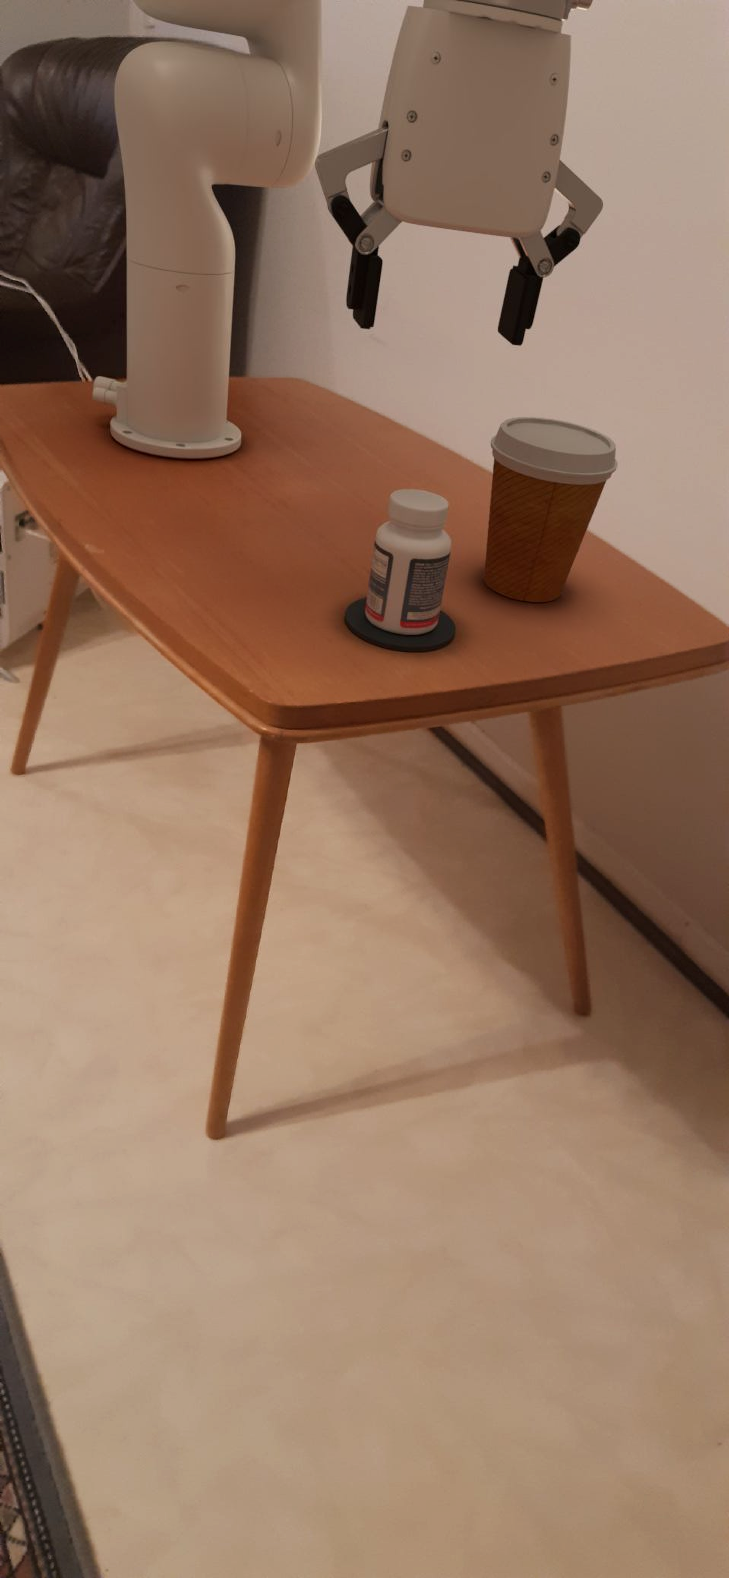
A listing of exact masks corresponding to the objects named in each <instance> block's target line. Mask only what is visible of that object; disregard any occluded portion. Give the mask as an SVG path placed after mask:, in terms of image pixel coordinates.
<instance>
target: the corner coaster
mask: <svg viewBox="0 0 729 1578" xmlns="http://www.w3.org/2000/svg"><path fill="white" fill-rule="evenodd" d="M366 600H367V597H362V598H359V599H357V600H355V601H353V602H351V603H350V604H349V605H347V607H346V609H345V612H344V623H345V625H346V627H347V628H348V630H349V631H350V632H351V633H353V634H354V635H355V636H357V638H360V639H361V640H363V641H365V642H367V643H370V644H372V645H374V646H377V647H381V648H384V649H388V650H393V651H400V652H408V653H409V652H411V653H415V652H416V653H420V652H422V653H423V652H431V651H436V650H439V649H442V648H444V647H446V646H448V645H449V644H450V643H452V641H453V640H454V638H455V636H456V632H457V631H456V629H457V628H456V623H455V622H454V620H453V618H451V617H450V615H448V614H447V613H446V612H445V611H443V610H442V609H440V614H439V618H438V623H437V625H436V627H435V628H434V629H432V630H431V631H429V632H427V633H423V634H418V635H403V634H397V633H392V632H388V631H385V630H383V629H380V628H378V627H376V626H375V625H373V624H372V623H371V622H370V621H369V620H368V619H367V617H366V614H365V608H366Z"/></svg>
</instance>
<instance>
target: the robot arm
mask: <svg viewBox="0 0 729 1578" xmlns="http://www.w3.org/2000/svg"><path fill="white" fill-rule="evenodd" d="M132 1H133V2H134V4H135V5H136V7H137V8H138V9H139V10H140V11H141V12H142V13H144V14H145V15H147V16H149V17H151V18H152V19H155V20H156V21H157V20H158V21H160V22H164V23H167V24H171V25H175V26H179V27H183V28H190V29H196V30H199V31H200V30H201V31H206V32H213V33H218V34H225V35H229V36H230V35H231V36H237V37H242V38H244V39H245V40H246V42H247V46H248V50H249V53H246V52H245V53H244V52H238V51H232V50H228V49H225V48H220V47H214V46H207V45H200V44H194V43H189V42H182V41H181V42H180V41H168V40H167V41H166V40H163V41H151V42H148V43H144V44H141V45H139V46H137V47H136V48H133V49H132V50H131V51H130V52H128V53H127V54H126V55H125V57H124V58H123V59H122V61H121V62H120V63H119V64H120V65H119V67H118V69H117V72H116V75H115V81H114V92H113V93H114V98H113V99H114V113H115V121H116V127H117V134H118V140H119V148H120V154H121V164H122V170H123V171H122V172H123V182H124V195H125V211H126V212H125V218H126V219H125V221H126V222H125V223H126V380H125V381H123V382H121V381H117V380H116V379H114V378H109V377H106V376H101V375H99V376H96V377H95V378H94V381H93V386H92V389H93V390H92V396H91V397H92V400H93V401H94V402H97V403H101V404H105V405H112V406H113V408H115V409H116V414H115V415H114V416H113V417H112V418H111V420H110V421H109V422H110V425H109V426H110V427H109V428H110V432H109V433H110V435H111V437H113V439H114V440H115V441H116V442H118V443H119V444H121V445H122V446H125V447H127V448H130V449H132V450H135V451H138V452H141V453H145V454H148V455H152V456H153V455H154V456H157V457H159V456H160V457H165V458H174V459H195V460H196V459H198V460H199V459H211V458H217V457H218V458H219V457H223V456H226V455H230V454H232V453H234V452H235V451H237V450H238V449H239V448H241V445H242V431H241V430H240V428H239V427H238V426H237V425H235V423H233V422H231V421H229V420H228V419H227V418H228V417H227V415H228V399H229V398H228V397H229V382H230V381H229V380H230V365H231V364H230V363H231V362H230V361H231V343H232V325H233V308H234V306H233V305H234V292H235V291H234V290H235V289H234V287H235V271H236V269H235V268H236V267H235V266H236V245H235V239H234V234H233V230H232V228H231V225H230V223H229V221H228V219H227V216H226V215H225V213H224V211H223V210H222V207H221V206H220V204H219V201H218V200H217V198H216V196H215V194H214V191H213V188H212V187H213V186H214V185H234V186H244V187H245V186H246V187H255V188H256V187H257V188H270V189H286V188H291V187H295V186H297V185H299V184H302V182H304V181H305V180H306V179H307V178H308V176H309V175H310V174H311V172H312V170H313V169H314V168H315V171H316V174H317V178H318V181H319V183H320V187H321V190H322V193H323V196H324V199H325V202H326V205H327V206H326V207H327V210H328V212H329V213H330V215H331V216H332V218H333V220H334V221H335V223H336V224H337V225H338V227H339V228H340V229H341V231H342V233H343V234H344V236H345V237H346V238H347V240H348V242H349V243H350V244H351V246H352V247H351V248H352V249H351V257H350V264H349V273H348V281H347V288H346V296H345V297H346V298H345V302H346V303H345V305H346V308H347V309H348V310H352V318H353V320H354V321H355V323H356V324H357V325H358V327H359V328H360V329H362V330H363V329H364V330H370V329H371V328H374V325H375V320H376V313H377V306H378V299H379V293H380V292H379V291H380V284H381V278H382V271H383V263H384V261H383V258H382V257H380V255H379V249H380V245H381V244H383V242H384V241H385V240H386V239H387V238H388V237H389V236H390V235H391V234H392V233H393V232H394V231H395V230H396V228H397V227H399V226H400V225H401V223H402V222H404V223H407V224H412V225H417V226H423V227H429V228H436V229H437V228H438V229H444V230H450V231H451V230H452V231H457V232H458V231H459V232H466V233H473V234H481V235H489V236H494V237H495V236H496V237H503V238H504V237H505V238H509V239H510V241H511V244H512V245H513V247H514V250H515V251H516V254H517V256H518V262H517V265H512V268H510V269H509V272H508V276H507V281H506V287H505V292H504V296H503V299H502V306H501V310H500V315H499V320H498V326H497V332H498V334H499V335H501V336H502V338H504V339H505V340H506V341H507V342H508V343H510V344H511V345H512V346H518V347H519V346H520V347H521V346H522V345H523V343H524V339H525V335H526V332H527V331H526V330H531V328H532V327H533V324H534V320H535V316H536V312H537V307H538V303H539V300H540V299H539V298H540V295H541V290H542V286H543V281H544V278H547V277H549V276H550V275H551V274H552V273H553V272H554V269H555V267H556V266H558V264H560V262H562V261H563V260H564V259H565V258H566V257H568V256H569V255H570V254H572V253H573V252H574V251H575V250H577V248H578V247H579V245H580V243H581V239H582V238H583V236H584V235H586V233H587V232H588V231H589V229H590V228H591V226H592V225H593V224H594V222H595V220H597V218H598V216H599V215H600V214H601V212H602V210H603V208H604V200H602V198H601V197H600V196H599V195H598V194H597V193H596V192H595V191H594V190H593V189H592V188H591V187H589V186H588V185H587V183H585V182H584V181H583V180H582V179H581V178H580V177H579V176H578V175H577V174H576V173H575V172H573V170H572V169H571V168H570V167H568V165H566V164H565V163H564V162H563V161H562V160H561V155H562V148H563V141H564V135H565V134H564V133H565V126H566V120H567V119H566V118H567V110H568V100H569V90H570V89H569V88H570V77H571V75H570V74H571V56H572V55H571V54H572V35H571V34H567V33H562V29H563V25H564V21H568V19H569V15H570V13H571V11H576V10H577V9H580V10H584V11H587V10H589V9H590V8H591V6H592V3H593V1H594V0H423V4H422V6H417V5H416V6H415V5H407V7H406V10H405V14H404V16H403V18H402V23H401V27H400V28H399V29H400V30H399V33H398V37H397V40H396V44H395V48H394V52H393V57H392V61H391V65H390V68H389V72H388V76H387V77H388V78H387V82H386V87H385V92H384V97H383V100H382V106H381V112H380V117H379V122H378V127H377V129H375V130H372V131H370V132H368V133H366V134H364V135H361V136H359V137H357V138H354V139H352V140H349V141H348V142H344V143H343V144H340V145H338V146H335V147H333V148H331V149H329V150H326V151H324V152H321V153H320V154H319V150H320V145H321V136H322V122H323V55H322V53H323V52H322V51H323V49H322V45H323V43H322V41H323V39H322V30H323V29H322V25H323V24H322V0H132ZM368 165H371V168H370V176H369V177H370V178H369V195H370V198H371V200H372V201H373V202H372V203H371V204H370V205H369V206H368V207H367V208H366V210H364V212H362V213H361V214H360V213H359V212H358V210H357V208H356V207H355V205H354V204H353V203H352V201H351V199H350V195H349V192H348V188H347V184H346V183H347V182H346V180H347V177H348V175H349V174H350V173H352V172H354V171H356V170H358V169H360V168H363V167H365V166H368ZM554 193H557V194H558V195H559V196H560V197H561V198H562V199H563V200H564V201H565V202H566V203H567V207H568V211H567V213H566V215H565V216H564V219H563V221H562V222H561V223H560V224H559V225H557V226H556V227H555V228H554V229H552V230H551V231H550V232H549V233H548V234H546V235H545V236H543V233H542V230H543V228H544V227H545V224H546V222H547V220H548V217H549V213H550V210H551V207H552V206H551V205H552V202H553V198H554Z"/></svg>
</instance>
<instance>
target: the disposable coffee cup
mask: <svg viewBox="0 0 729 1578" xmlns="http://www.w3.org/2000/svg"><path fill="white" fill-rule="evenodd" d="M490 447H491V449H492V450H491V454H492V457H493V465H492V481H491V490H490V498H489V499H490V500H489V501H490V502H489V514H488V524H487V525H488V526H487V527H488V528H487V538H486V548H485V549H486V552H485V562H484V574H483V575H484V576H483V582H484V583H485V585H486V586H487V587H488V588H490V589H491V590H493V591H494V592H496V593H498V594H499V595H502V596H504V597H507V598H510V599H514V600H516V601H524V602H528V603H529V602H530V603H545V602H552V601H555V600H556V599H558V598H559V597H560V596H561V595H562V592H563V589H564V587H565V585H566V582H567V579H568V578H569V574H570V572H571V570H572V567H573V565H574V562H575V559H576V557H577V555H578V552H579V550H580V547H581V545H582V542H583V540H584V538H585V535H586V533H587V531H588V528H589V525H590V523H591V520H592V517H593V515H594V514H595V510H596V508H597V505H598V503H599V500H600V498H601V496H602V493H603V490H604V488H605V485H606V483H607V481H608V480H609V479H611V477H612V475H613V473H614V472H615V471H617V468H618V465H619V463H618V461H617V459H616V452H617V451H616V450H617V449H616V448H617V446H616V443H615V442H614V440H613V439H611V438H610V437H609V436H607V435H605V434H603V433H602V432H600V431H598V430H595V429H592V428H589V427H586V426H583V425H581V424H578V423H572V422H569V421H565V420H560V419H554V418H545V417H536V416H519V417H512V418H507V419H505V420H504V421H502V422H501V423H500V425H499V427H498V430H497V432H496V434H495V435H494V436H492V437H491V439H490Z"/></svg>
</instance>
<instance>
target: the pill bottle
mask: <svg viewBox="0 0 729 1578" xmlns="http://www.w3.org/2000/svg"><path fill="white" fill-rule="evenodd" d="M449 507H450V503H449V501H448V500H447V498H445V497H443V496H441V495H440V494H437V493H435V492H431V491H428V490H423V489H416V488H403V489H397V490H394V491H393V492H391V494H390V496H389V501H388V507H387V510H386V511H387V517H388V519H389V520H388V521H385V522H384V523H382V524H381V525H380V526H379V527H378V528H377V531H376V533H375V537H374V541H373V550H372V558H371V566H370V572H369V580H368V586H367V594H366V598H367V600H366V608H365V614H366V617H367V619H368V620H369V621H370V622H371V623H372V624H373V625H375V626H376V627H378V628H380V629H383V630H385V631H388V632H392V633H397V634H403V635H418V634H423V633H427V632H429V631H431V630H432V629H434V628H435V627H436V625H437V623H438V618H439V614H440V610H441V606H442V602H443V596H444V592H445V591H444V590H445V585H446V581H447V580H446V579H447V575H448V568H449V563H450V557H451V553H452V539H451V537H450V535H449V533H448V532H447V531H445V530H444V527H445V526H446V524H447V520H448V514H449Z"/></svg>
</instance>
